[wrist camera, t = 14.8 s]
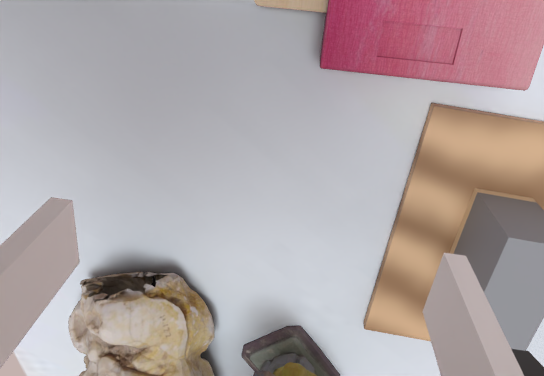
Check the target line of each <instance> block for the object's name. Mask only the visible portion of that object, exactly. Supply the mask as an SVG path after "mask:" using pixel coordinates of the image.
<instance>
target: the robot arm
mask: <svg viewBox="0 0 544 376" xmlns="http://www.w3.org/2000/svg"><path fill="white" fill-rule="evenodd" d="M78 264H79V253H78V245H77V236H76V227H75V219H74V210H73V201H72V200H67V199H59V198H52V197H51V198H50V199H49V200H48V201H47V202H46V203H45V204H44V205H42V206H41V207H40V208H39V209H38V210H37V211H36V212H35V213H34V214H33V215H32V216H31V217H30V218H29V219H28V220H27V221H26V222H25V223H24V224H22V225H21V226H20V227H19V228H18V229H17V230H16V231H15V232H14V233H13V234H12V235H11V236H10V237H9V238H8V239H7V240H6V241H5V242H4V243H2V244H1V245H0V368H1V367H2V366H3V364H4V363H5V361H6V360H7V359H8V358H9V356H10V355H11V354H12V352H13V351H14V350H15V348H16V347H17V345H18V344H19V343H20V341H21V340H22V339H23V337H24V336H25V335H26V333H27V332H28V331H29V329H30V328H31V327H32V325H33V324H34V323H35V321H36V320H37V319H38V317H39V316H40V315H41V313H42V312H43V311H44V309H45V308H46V307H47V305H48V304H49V303H50V301H51V300H52V299H53V297H54V296H55V295H56V293H57V292H58V291H59V289H60V288H61V287H62V285H63V284H64V283H65V281H66V280H67V279H68V277H69V276H70V274H71V273H72V272H73V270H74V269H75V268H76V266H77V265H78ZM423 315H424V319H425V322H426V325H427V329H428V332H429V336H430V339H431V343H432V346H433V349H434V353H435V356H436V360H437V363H438V367H439V370H440V373H441V376H544V367H543V366H542V365H541V364H540V363H539V362H538V361H537V360H536V359H535V358H534V357H533V356H532V354H531V353H530V352H529V351H524V350H517V349H511V347H510V345H509V343H508V341H507V339H506V337H505V335H504V333H503V331H502V329H501V327H500V325H499V323H498V321H497V319H496V317H495V315H494V312H493V310H492V308H491V306H490V304H489V302H488V300H487V298H486V296H485V294H484V292H483V290H482V288H481V286H480V284H479V282H478V279H477V277H476V275H475V273H474V271H473V269H472V267H471V265H470V263H469V261H468V259H467V257H466V256H464V255H457V254H450V253H444V254H443V256H442V259H441V262H440V265H439V267H438V270H437V273H436V276H435V279H434V281H433V284H432V287H431V290H430V292H429V295H428V298H427V301H426V303H425V306H424V309H423Z"/></svg>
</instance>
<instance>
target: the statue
mask: <svg viewBox="0 0 544 376" xmlns="http://www.w3.org/2000/svg"><path fill="white" fill-rule="evenodd" d="M242 358H243V359H244V360H245V361H246V362H247V363H248V364H249V366H250V367H251V368H252V369H253V370H254V371H255V372H254V375H253V376H340V374H339V373H338V372H337V370H336V369H335V368H334V367H333V365H332V364H331V363H330V361H329V360H328V359H327V357H326V356H325V355H324V353H323V352H322V351H321V350H320V348H319V347H318V346H317V345H316V343H315V342H314V341H313V340H312V339H311V338H310V337H309V335H308V334H307V333H306V332H305V331H304V330H303V328H302V327H301V326H287V327H285V328H282V329H280V330H278V331H275V332H273V333H271V334H268V335H266V336H264V337H261V338H259V339H257V340H254V341H252V342H250V343H247V344H245V345H244V347H243V351H242Z"/></svg>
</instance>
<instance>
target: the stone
mask: <svg viewBox="0 0 544 376" xmlns="http://www.w3.org/2000/svg"><path fill="white" fill-rule="evenodd" d="M152 276H154V277H155V278H156V280H157V281H156V286H155V287H154V286H152V285H151V283H152V282H153V281H152ZM80 284H82V286H81V288H82V296H81V300H80V301H79V302H78V303H77V305H76V306H75V308H74V310H73V312H72V314H71V315H70V317H69V321H68V323H69V332H70V337H71V340H72V342H73V345H74V347H75V348H76V349H77V350H78V351H79V352H81V353H84V354H86V356H85V357H84V363H85V364H86V368H87V370H86V371H83V372H82V373H81V374H80V375H79V376H214V373H213V371H212V368H211V366H210V364H209V362H208V361H207V360H206V359H202V358H201V356H200V354H201V353H202V352H204V351H206V349H207V347H208V346H209V344H210V343H211V342H212V340H213V339H214V323H213V319H212V315H211V313H210V312H209V310H208V308H207V305H206V304H205V302H204V301H203V299H202V298H201V297H200V296H199V295H198V294H197V293H196V292H195V291H193V290H191V289H190V288H189V287H188V285H187V284H186V282H185V281H184V279H183V278H182V277H180V276H179V275H177V274H175V273H164V274H163V273H160V274H156V273H151V272H145V273H143V272H135V273H133V272H131V273H122V274H119V273H118V274H112V275H106V276H101V277H96V278H91V279H85V280H82V281H81V283H80Z"/></svg>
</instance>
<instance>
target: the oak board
mask: <svg viewBox="0 0 544 376" xmlns="http://www.w3.org/2000/svg"><path fill="white" fill-rule="evenodd" d="M474 188H477V189H483V190H488V191H494V192H500V193H506V194H511V195H517V196H523V197H529V198H533V199H534V200H535V201H536V202H537V203H538V205H539V206H540V207H541V208H542V209H543V210H544V122H543V121H537V120H531V119H525V118H519V117H513V116H507V115H501V114H495V113H489V112H483V111H477V110H471V109H465V108H459V107H454V106H448V105H442V104H436V103H431V106H430V109H429V113H428V116H427V119H426V122H425V125H424V129H423V132H422V135H421V138H420V142H419V145H418V148H417V151H416V155H415V158H414V161H413V164H412V167H411V171H410V174H409V177H408V180H407V184H406V187H405V190H404V193H403V197H402V200H401V203H400V206H399V209H398V213H397V216H396V219H395V222H394V226H393V229H392V232H391V235H390V239H389V242H388V245H387V248H386V251H385V255H384V258H383V261H382V264H381V268H380V271H379V274H378V277H377V281H376V284H375V287H374V290H373V294H372V297H371V300H370V303H369V306H368V310H367V313H366V316H365V319H364V329H367V330H372V331H378V332H383V333H389V334H394V335H399V336H405V337H410V338H416V339H421V340H427V341H431V339H430V336H429V332H428V329H427V325H426V322H425V319H424V315H423V309H424V306H425V303H426V301H427V298H428V295H429V292H430V290H431V287H432V284H433V281H434V279H435V276H436V273H437V270H438V267H439V265H440V262H441V259H442V256H443V254H444V253H450V251H451V248H452V245H453V243H454V240H455V238H456V235H457V232H458V230H459V227H460V225H461V222H462V220H463V217H464V214H465V212H466V209H467V207H468V204H469V201H470V199H471V196H472V194H473V191H474Z"/></svg>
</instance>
